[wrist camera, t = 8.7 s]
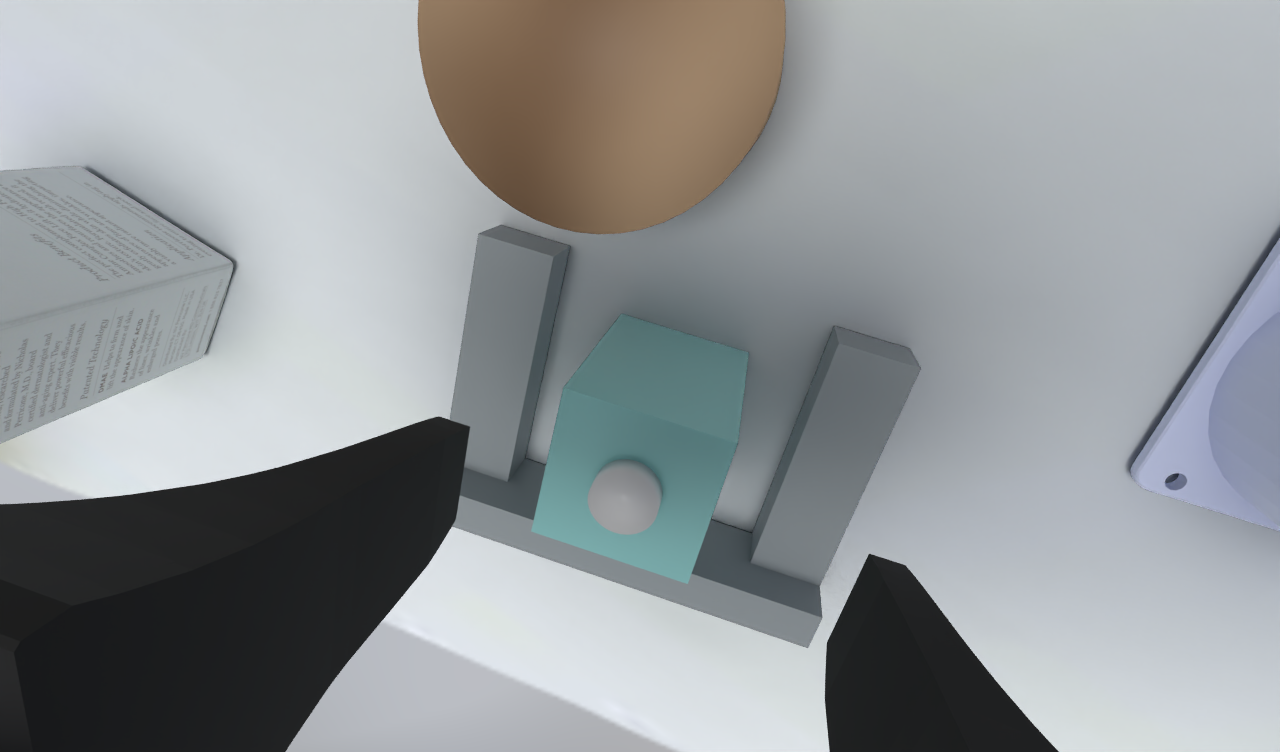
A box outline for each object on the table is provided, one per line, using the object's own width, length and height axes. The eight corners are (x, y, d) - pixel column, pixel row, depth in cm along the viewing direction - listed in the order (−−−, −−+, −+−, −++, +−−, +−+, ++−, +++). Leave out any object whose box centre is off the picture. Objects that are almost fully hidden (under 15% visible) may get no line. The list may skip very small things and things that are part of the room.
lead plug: (749, 352, 20) (736, 456, 14) (710, 464, 21) (684, 601, 15) (621, 313, 20) (554, 398, 14) (593, 426, 22) (522, 546, 16)
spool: (823, -55, 16) (846, -135, 11) (734, 231, 19) (718, 276, 14) (547, -126, 16) (442, -234, 11) (500, 162, 19) (399, 180, 14)
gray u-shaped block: (909, 348, 19) (932, 388, 16) (804, 582, 22) (807, 648, 20) (500, 224, 20) (455, 242, 17) (460, 467, 23) (417, 514, 21)
